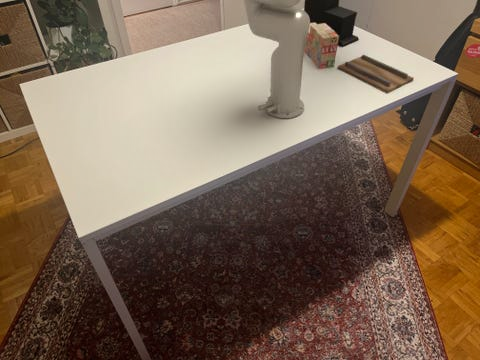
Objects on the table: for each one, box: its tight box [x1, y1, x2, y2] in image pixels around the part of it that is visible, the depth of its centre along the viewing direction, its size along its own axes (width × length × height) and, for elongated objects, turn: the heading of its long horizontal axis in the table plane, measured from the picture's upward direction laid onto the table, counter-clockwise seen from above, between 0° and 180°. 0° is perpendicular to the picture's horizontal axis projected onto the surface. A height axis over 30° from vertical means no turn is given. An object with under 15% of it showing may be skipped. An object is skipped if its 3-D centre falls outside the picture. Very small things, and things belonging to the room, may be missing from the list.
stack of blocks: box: [304, 23, 339, 70], centre depth 143 cm, size 21×6×12 cm, turn 14°
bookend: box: [303, 0, 360, 48], centre depth 153 cm, size 23×11×24 cm, turn 39°
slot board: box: [337, 54, 415, 94], centre depth 134 cm, size 14×23×2 cm, turn 35°
